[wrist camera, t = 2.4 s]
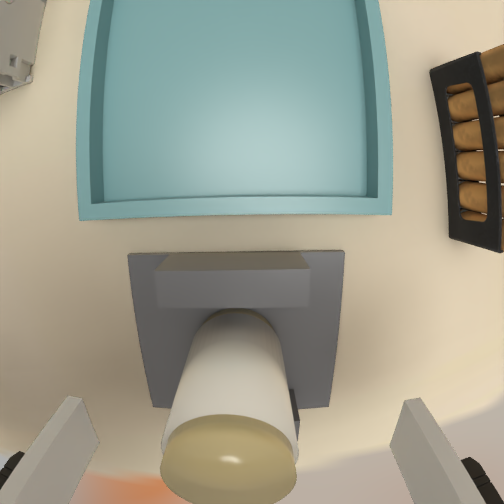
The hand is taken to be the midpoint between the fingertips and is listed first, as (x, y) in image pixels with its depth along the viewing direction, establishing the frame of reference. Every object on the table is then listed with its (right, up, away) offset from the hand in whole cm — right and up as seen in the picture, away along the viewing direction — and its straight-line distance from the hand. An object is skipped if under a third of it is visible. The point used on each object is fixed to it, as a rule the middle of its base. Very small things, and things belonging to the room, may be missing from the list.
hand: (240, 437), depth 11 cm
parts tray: (-1, +17, +4) cm, 18 cm away
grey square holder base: (0, +2, +8) cm, 8 cm away
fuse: (0, +2, +7) cm, 8 cm away
